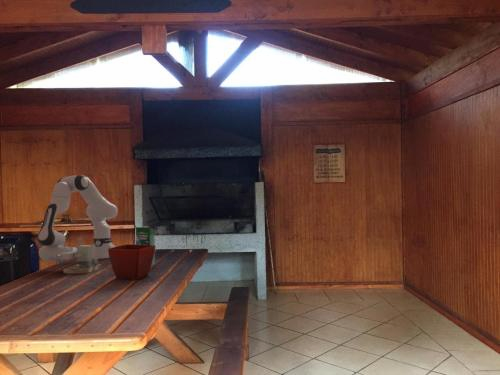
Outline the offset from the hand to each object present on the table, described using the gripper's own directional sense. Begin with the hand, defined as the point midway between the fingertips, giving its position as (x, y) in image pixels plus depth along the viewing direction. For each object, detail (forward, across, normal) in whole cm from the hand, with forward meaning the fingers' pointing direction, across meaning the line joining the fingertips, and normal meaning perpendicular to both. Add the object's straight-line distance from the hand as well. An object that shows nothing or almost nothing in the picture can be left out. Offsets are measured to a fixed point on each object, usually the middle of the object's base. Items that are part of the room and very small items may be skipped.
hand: (86, 254), depth 250 cm
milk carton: (+30, +19, +10) cm, 37 cm away
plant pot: (+37, -15, +10) cm, 41 cm away
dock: (-2, 0, +10) cm, 10 cm away
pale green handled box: (-1, 0, +6) cm, 6 cm away
